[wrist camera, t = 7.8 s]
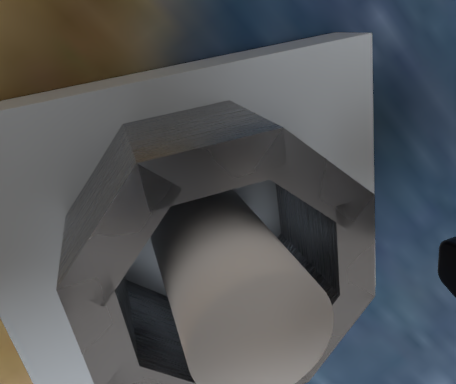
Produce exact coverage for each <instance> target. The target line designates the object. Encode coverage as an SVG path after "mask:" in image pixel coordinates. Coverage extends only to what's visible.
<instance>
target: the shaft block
mask: <svg viewBox="0 0 456 384" xmlns="http://www.w3.org/2000/svg"><path fill="white" fill-rule="evenodd" d="M228 100H230V101H232V102H234V103H236V104H238V105H240V106H242V107H244V108H246V109H248V110H250V111H252V112H254V113H256V114H258V115H260V116H262V117H264V118H266V119H268V120H270V121H272V122H274V123H276V124H278V125H280V126H282V127H284V128H285V129H286V130H288V131H289V132H290V133H292V134H293V135H294V136H296V137H297V138H298V139H300V140H301V141H303V142H304V143H305V144H307V145H308V146H309V147H311V148H312V149H313V150H315V151H316V152H317V153H319V154H320V155H322V156H323V157H324V158H326V159H327V160H328V161H330V162H331V163H332V164H334V165H335V166H337V167H338V168H339V169H341V170H342V171H343V172H345V173H346V174H347V175H349V176H350V177H351V178H353V179H354V180H356V181H357V182H358V183H360V184H361V185H362V186H364V187H365V188H366V189H368V190H369V191H370V192H372V193H373V194H374V132H373V62H372V33H344V32H334V33H329V34H325V35H320V36H315V37H310V38H305V39H300V40H295V41H290V42H286V43H281V44H276V45H271V46H266V47H261V48H256V49H251V50H247V51H242V52H237V53H232V54H227V55H222V56H217V57H212V58H207V59H203V60H198V61H193V62H188V63H183V64H178V65H173V66H168V67H164V68H159V69H154V70H149V71H144V72H139V73H134V74H129V75H125V76H120V77H115V78H110V79H105V80H100V81H95V82H90V83H85V84H81V85H76V86H71V87H66V88H61V89H56V90H51V91H46V92H42V93H37V94H32V95H27V96H22V97H17V98H12V99H7V100H3V101H0V318H1V320H2V322H3V324H4V326H5V328H6V330H7V332H8V334H9V336H10V338H11V340H12V342H13V344H14V346H15V348H16V350H17V352H18V354H19V356H20V358H21V360H22V362H23V364H24V366H25V368H26V370H27V372H28V374H29V376H30V378H31V380H32V382H33V384H94V383H93V380H92V378H91V375H90V373H89V370H88V368H87V365H86V363H85V360H84V358H83V355H82V353H81V350H80V348H79V345H78V343H77V340H76V338H75V335H74V333H73V330H72V328H71V325H70V323H69V320H68V318H67V315H66V313H65V310H64V308H63V305H62V303H61V301H60V298H59V296H58V293H57V291H56V286H57V279H58V271H59V263H60V255H61V248H62V240H63V232H64V224H65V216H66V214H67V212H68V211H69V209H70V208H71V206H72V204H73V203H74V201H75V200H76V198H77V196H78V195H79V193H80V192H81V190H82V188H83V187H84V185H85V184H86V182H87V180H88V179H89V177H90V176H91V174H92V172H93V171H94V169H95V168H96V166H97V164H98V163H99V161H100V160H101V158H102V156H103V155H104V153H105V152H106V150H107V148H108V147H109V145H110V143H111V142H112V140H113V139H114V137H115V135H116V134H117V132H118V131H119V129H120V127H121V126H122V124H124V123H128V122H133V121H137V120H142V119H146V118H151V117H155V116H160V115H164V114H169V113H174V112H178V111H183V110H187V109H192V108H196V107H201V106H205V105H210V104H214V103H219V102H223V101H228ZM280 234H281V228H280V219H279V211H278V202H277V193H276V184H275V183H274V182H273V181H271V180H270V179H269V180H265V181H262V182H258V183H254V184H251V185H247V186H243V187H240V188H236V189H232V190H229V191H225V192H221V193H218V194H214V195H210V196H207V197H203V198H199V199H196V200H192V201H188V202H185V203H181V204H177V205H174V206H171V207H170V208H169V210H168V211H167V213H166V214H165V216H164V217H163V219H162V220H161V222H160V223H159V225H158V226H157V228H156V229H155V231H154V232H153V234H152V235H151V237H150V238H149V240H148V241H147V243H146V244H145V246H144V247H143V249H142V250H141V252H140V253H139V255H138V256H137V258H136V259H135V261H134V262H133V264H132V265H131V267H130V268H129V270H128V271H127V273H126V274H125V276H126V279H127V280H128V281H130V282H133V283H135V284H138V285H140V286H143V287H145V288H148V289H150V290H153V291H155V292H157V293H160V294H162V295H165V296H167V297H168V300H169V303H170V307H171V310H172V314H173V317H174V320H175V324H176V327H177V331H178V334H179V338H180V341H181V344H182V348H183V351H184V355H185V358H186V362H187V365H188V368H189V371H190V374H191V376H192V378H193V380H194V381H195V383H196V384H295V383H296V382H298V381H299V380H300V379H301V378H302V377H304V376H305V375H306V374H307V373H308V372H309V371H310V370H311V369H312V368H313V367H314V365H315V364H316V363H317V362H318V360H319V359H320V358H321V356H322V355H323V353H324V351H325V349H326V347H327V345H328V343H329V340H330V338H331V334H332V331H333V324H334V314H333V307H332V304H331V301H330V299H329V297H328V295H327V293H326V292H325V291H324V290H323V288H322V287H321V286H320V285H319V284H318V283H317V282H316V280H315V279H314V278H313V277H312V276H311V275H310V274H309V273H308V272H307V270H306V269H305V268H304V267H303V266H302V265H301V264H300V263H299V262H298V260H297V259H296V258H295V257H294V256H293V255H292V254H291V253H290V252H289V251H288V249H287V248H286V247H285V246H284V245H283V244H282V243H281V242H280V241H279V239H278V236H279V235H280ZM375 286H376V272H375Z"/></svg>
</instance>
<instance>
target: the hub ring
mask: <svg viewBox="0 0 456 384" xmlns="http://www.w3.org/2000/svg"><path fill="white" fill-rule="evenodd" d="M269 179H270V180H271V181H273V182H274V183H275V184H276V193H277V202H278V211H279V219H280V228H281V234H280V235H279V236H278V239H279V241H280V242H281V243H282V244H283V245H284V246H285V247H286V248H287V249H288V251H289V252H290V253H291V254H292V255H293V256H294V257H295V258H296V259H297V260H298V262H299V263H300V264H301V265H302V266H303V267H304V268H305V269H306V270H307V272H308V273H309V274H310V275H311V276H312V277H313V278H314V279H315V280H316V282H317V283H318V284H319V285H320V286H321V287H322V288H323V290H324V291H325V292H326V293H327V295H328V297H329V299H330V301H331V304H332V307H333V314H334V324H333V331H332V334H331V338H330V340H329V343H328V345H327V347H326V349H325V351H324V353H323V355H322V356H321V358H320V359H319V360H318V362H317V363H316V364H315V365H314V367H313V368H312V369H311V370H310V371H309V372H308V373H307V374H306V375H305V376H304V377H302V378H301V379H300V380H299V381H298V382H296V383H295V384H304V383H307V382H309V381H310V379H311V378H312V377H313V376H314V374H315V373H316V372H317V370H318V369H319V368H320V367H321V365H322V364H323V363H324V361H325V360H326V359H327V358H328V356H329V355H330V354H331V352H332V351H333V350H334V348H335V347H336V346H337V345H338V343H339V342H340V341H341V339H342V338H343V337H344V336H345V334H346V333H347V332H348V330H349V329H350V328H351V327H352V325H353V324H354V323H355V321H356V320H357V319H358V318H359V316H360V315H361V314H362V312H363V311H364V310H365V308H366V307H367V306H368V305H369V303H370V302H371V301H372V299H373V298H374V297H375V194H373V193H372V192H370V191H369V190H368V189H366V188H365V187H364V186H362V185H361V184H360V183H358V182H357V181H356V180H354V179H353V178H351V177H350V176H349V175H347V174H346V173H345V172H343V171H342V170H341V169H339V168H338V167H337V166H335V165H334V164H332V163H331V162H330V161H328V160H327V159H326V158H324V157H323V156H322V155H320V154H319V153H317V152H316V151H315V150H313V149H312V148H311V147H309V146H308V145H307V144H305V143H304V142H303V141H301V140H300V139H298V138H297V137H296V136H294V135H293V134H292V133H290V132H289V131H288V130H286V129H285V128H284V127H282V126H280V125H278V124H276V123H274V122H272V121H270V120H268V119H266V118H264V117H262V116H260V115H258V114H256V113H254V112H252V111H250V110H248V109H246V108H244V107H242V106H240V105H238V104H236V103H234V102H232V101H230V100H228V101H223V102H219V103H214V104H210V105H205V106H201V107H196V108H192V109H187V110H183V111H178V112H174V113H169V114H164V115H160V116H155V117H151V118H146V119H142V120H137V121H133V122H128V123H124V124H122V126H121V127H120V129H119V131H118V132H117V134H116V135H115V137H114V139H113V140H112V142H111V143H110V145H109V147H108V148H107V150H106V152H105V153H104V155H103V156H102V158H101V160H100V161H99V163H98V164H97V166H96V168H95V169H94V171H93V172H92V174H91V176H90V177H89V179H88V180H87V182H86V184H85V185H84V187H83V188H82V190H81V192H80V193H79V195H78V196H77V198H76V200H75V201H74V203H73V204H72V206H71V208H70V209H69V211H68V212H67V214H66V216H65V224H64V232H63V240H62V248H61V255H60V263H59V271H58V279H57V286H56V291H57V293H58V296H59V298H60V301H61V303H62V305H63V308H64V310H65V313H66V315H67V318H68V320H69V323H70V325H71V328H72V330H73V333H74V335H75V338H76V340H77V343H78V345H79V348H80V350H81V353H82V355H83V358H84V360H85V363H86V365H87V368H88V370H89V373H90V375H91V378H92V380H93V383H94V384H196V383H195V381H194V380H193V378H192V376H191V374H190V371H189V368H188V365H187V362H186V358H185V355H184V351H183V348H182V344H181V341H180V338H179V334H178V331H177V327H176V324H175V320H174V317H173V314H172V310H171V307H170V303H169V300H168V297H167V296H165V295H162V294H160V293H157V292H155V291H153V290H150V289H148V288H145V287H143V286H140V285H138V284H135V283H133V282H130V281H128V280H127V279H126V276H125V274H126V273H127V271H128V270H129V268H130V267H131V265H132V264H133V262H134V261H135V259H136V258H137V256H138V255H139V253H140V252H141V250H142V249H143V247H144V246H145V244H146V243H147V241H148V240H149V238H150V237H151V235H152V234H153V232H154V231H155V229H156V228H157V226H158V225H159V223H160V222H161V220H162V219H163V217H164V216H165V214H166V213H167V211H168V210H169V208H170V207H171V206H174V205H177V204H181V203H185V202H188V201H192V200H196V199H199V198H203V197H207V196H210V195H214V194H218V193H221V192H225V191H229V190H232V189H236V188H240V187H243V186H247V185H251V184H254V183H258V182H262V181H265V180H269Z"/></svg>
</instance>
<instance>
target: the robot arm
mask: <svg viewBox="0 0 456 384" xmlns="http://www.w3.org/2000/svg"><path fill="white" fill-rule="evenodd" d="M438 275H439V278H440V279H441V281H442V283H443V284H444V285H445V286H446V287H447V288H448V289H449V291H450V292H451V293H452V294H453V295H454V296H455V297H456V237H453V238H450V239H447V240H444V241H443V242H441V244H440V246H439V259H438Z"/></svg>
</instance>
